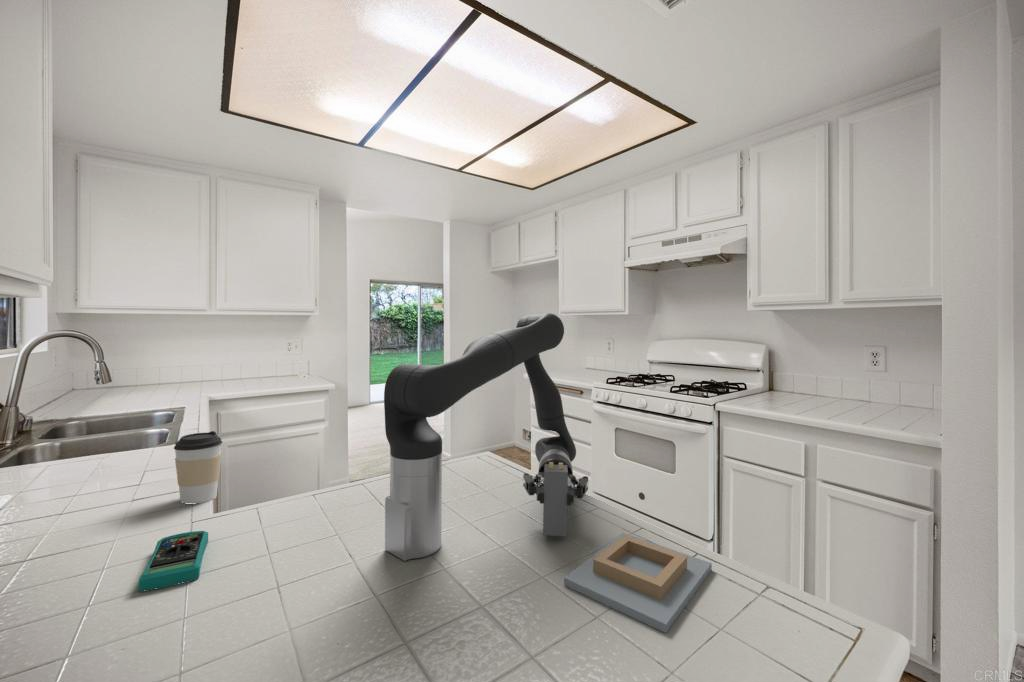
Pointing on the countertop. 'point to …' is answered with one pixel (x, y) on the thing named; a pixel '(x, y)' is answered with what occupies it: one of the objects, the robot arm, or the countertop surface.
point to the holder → (640, 580)
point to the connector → (555, 499)
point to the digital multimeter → (175, 560)
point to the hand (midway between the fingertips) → (555, 499)
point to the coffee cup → (198, 466)
